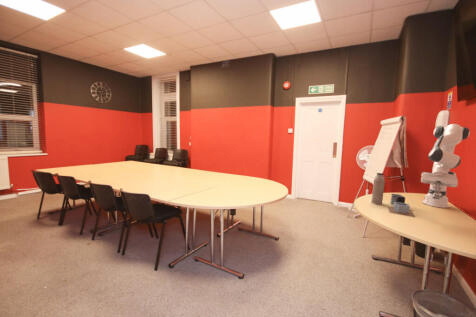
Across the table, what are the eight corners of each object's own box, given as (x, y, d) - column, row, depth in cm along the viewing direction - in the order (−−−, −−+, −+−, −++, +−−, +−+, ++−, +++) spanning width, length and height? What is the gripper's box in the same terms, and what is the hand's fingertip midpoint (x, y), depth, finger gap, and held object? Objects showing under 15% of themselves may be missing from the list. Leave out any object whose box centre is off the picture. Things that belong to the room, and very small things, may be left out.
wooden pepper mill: (370, 202, 201) (373, 172, 198) (380, 204, 198) (384, 173, 195) (372, 205, 193) (376, 173, 190) (383, 206, 191) (386, 174, 188)
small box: (404, 209, 185) (406, 197, 184) (395, 208, 186) (397, 196, 185) (398, 205, 195) (399, 194, 194) (389, 205, 197) (391, 193, 195)
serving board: (387, 207, 188) (387, 206, 188) (411, 211, 180) (411, 210, 180) (389, 214, 171) (389, 212, 171) (415, 219, 163) (415, 217, 163)
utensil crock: (392, 208, 182) (393, 201, 182) (407, 210, 177) (408, 203, 177) (393, 211, 174) (394, 204, 173) (409, 214, 169) (410, 206, 168)
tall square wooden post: (432, 198, 162) (434, 180, 161) (432, 197, 165) (435, 180, 164) (439, 199, 160) (442, 181, 158) (439, 198, 163) (442, 181, 161)
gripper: (422, 169, 172) (419, 183, 166) (459, 173, 159) (457, 189, 153) (421, 174, 176) (418, 188, 170) (457, 178, 163) (456, 194, 156)
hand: (437, 188), depth 161 cm, fingers closed on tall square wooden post, 2 cm apart
